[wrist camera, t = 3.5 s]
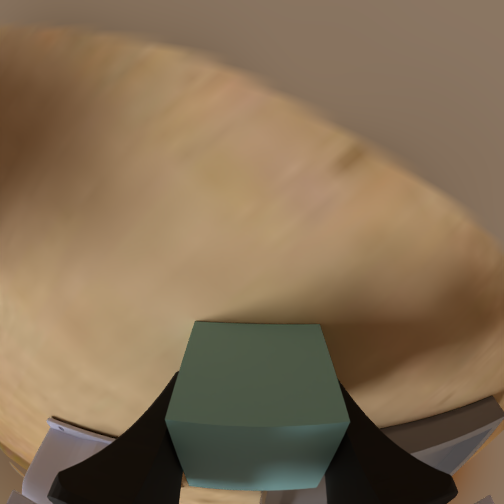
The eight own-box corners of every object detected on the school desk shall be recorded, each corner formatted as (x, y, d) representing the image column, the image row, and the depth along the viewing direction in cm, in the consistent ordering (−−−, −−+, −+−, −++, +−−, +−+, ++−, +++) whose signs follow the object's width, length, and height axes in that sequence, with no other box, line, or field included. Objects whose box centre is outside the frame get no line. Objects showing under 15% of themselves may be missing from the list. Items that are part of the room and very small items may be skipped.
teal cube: (203, 401, 13) (189, 485, 8) (194, 321, 11) (164, 419, 6) (303, 403, 13) (316, 487, 8) (319, 324, 11) (349, 421, 6)
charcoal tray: (257, 515, 20) (257, 534, 18) (269, 439, 14) (270, 474, 12) (409, 491, 20) (414, 507, 18) (492, 395, 14) (506, 415, 12)
